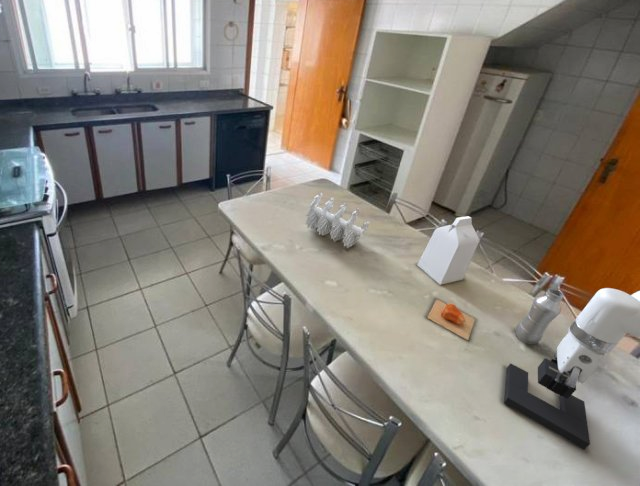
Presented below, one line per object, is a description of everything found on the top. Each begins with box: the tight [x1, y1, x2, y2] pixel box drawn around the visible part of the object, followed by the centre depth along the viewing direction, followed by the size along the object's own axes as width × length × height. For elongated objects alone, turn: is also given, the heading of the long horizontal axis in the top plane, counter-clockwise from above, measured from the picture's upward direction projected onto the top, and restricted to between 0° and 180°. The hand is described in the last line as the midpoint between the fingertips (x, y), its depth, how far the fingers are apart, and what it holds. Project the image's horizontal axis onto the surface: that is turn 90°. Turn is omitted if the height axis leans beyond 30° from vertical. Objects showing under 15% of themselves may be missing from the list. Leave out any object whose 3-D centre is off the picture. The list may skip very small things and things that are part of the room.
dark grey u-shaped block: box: [503, 362, 591, 450], centre depth 86 cm, size 16×13×2 cm
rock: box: [426, 299, 476, 341], centre depth 110 cm, size 12×12×4 cm
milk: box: [417, 215, 480, 286], centre depth 126 cm, size 12×12×26 cm
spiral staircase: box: [305, 192, 370, 249], centre depth 145 cm, size 18×18×25 cm
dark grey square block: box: [537, 357, 577, 399], centre depth 85 cm, size 6×6×4 cm
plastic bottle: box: [514, 287, 565, 345], centre depth 101 cm, size 6×7×20 cm
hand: (553, 381), depth 86 cm, fingers closed on dark grey square block, 6 cm apart
